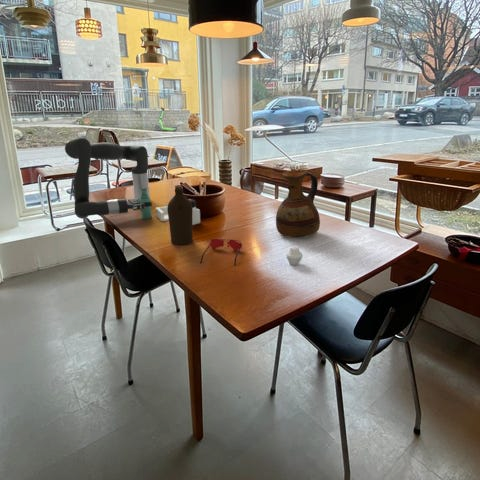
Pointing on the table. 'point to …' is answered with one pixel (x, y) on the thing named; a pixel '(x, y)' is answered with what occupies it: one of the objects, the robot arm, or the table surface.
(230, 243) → the glasses
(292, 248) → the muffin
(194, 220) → the medicine bottle
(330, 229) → the table surface
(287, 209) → the ceramic pitcher
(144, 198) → the green bottle
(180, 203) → the olive oil
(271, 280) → the table surface
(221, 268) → the table surface
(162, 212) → the cream U-rest
